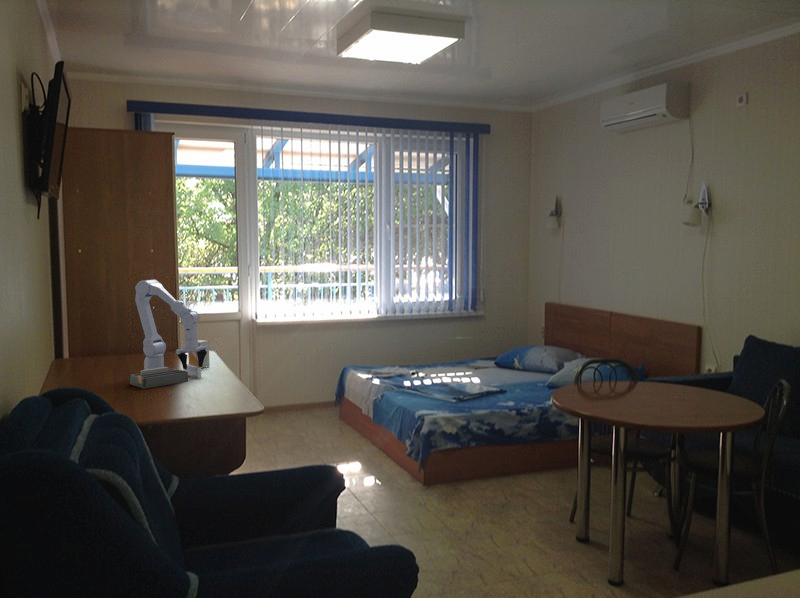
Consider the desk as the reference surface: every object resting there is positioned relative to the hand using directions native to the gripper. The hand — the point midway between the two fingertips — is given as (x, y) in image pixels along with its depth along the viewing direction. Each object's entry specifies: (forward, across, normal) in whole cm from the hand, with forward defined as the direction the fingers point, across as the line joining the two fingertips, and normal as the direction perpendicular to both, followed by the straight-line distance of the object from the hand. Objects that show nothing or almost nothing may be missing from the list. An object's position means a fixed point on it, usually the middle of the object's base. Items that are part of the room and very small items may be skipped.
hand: (192, 368), depth 307 cm
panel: (+4, 0, 0) cm, 4 cm away
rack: (+4, -17, -2) cm, 18 cm away
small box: (+4, +14, +20) cm, 25 cm away
